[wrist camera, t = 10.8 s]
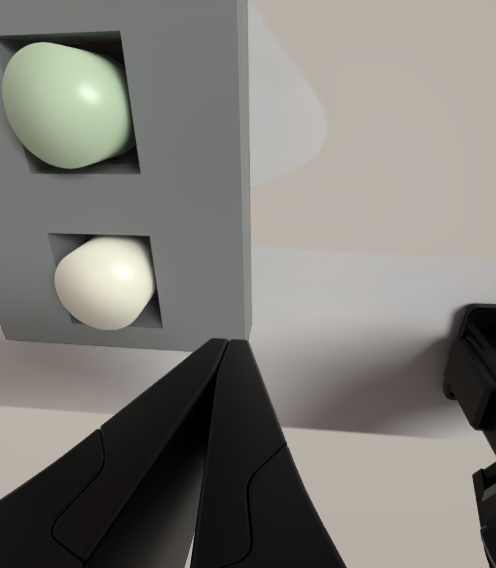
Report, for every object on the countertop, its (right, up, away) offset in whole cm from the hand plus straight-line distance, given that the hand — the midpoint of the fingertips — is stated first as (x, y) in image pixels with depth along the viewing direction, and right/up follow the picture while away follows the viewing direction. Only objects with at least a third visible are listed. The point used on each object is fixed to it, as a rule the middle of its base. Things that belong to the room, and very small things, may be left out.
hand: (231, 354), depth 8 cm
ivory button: (-6, +3, +13) cm, 14 cm away
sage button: (-7, +10, +9) cm, 15 cm away
